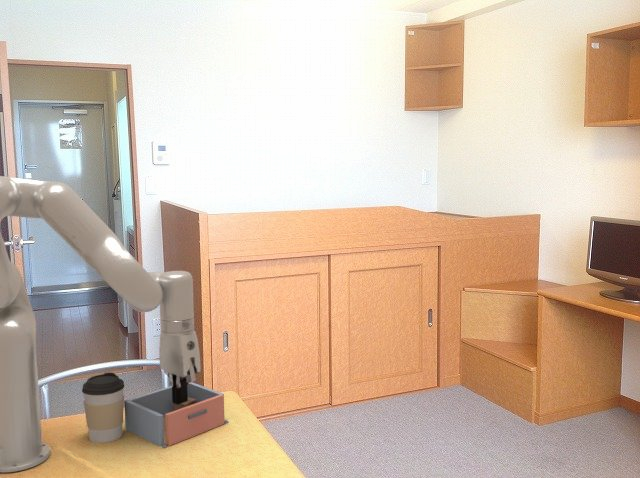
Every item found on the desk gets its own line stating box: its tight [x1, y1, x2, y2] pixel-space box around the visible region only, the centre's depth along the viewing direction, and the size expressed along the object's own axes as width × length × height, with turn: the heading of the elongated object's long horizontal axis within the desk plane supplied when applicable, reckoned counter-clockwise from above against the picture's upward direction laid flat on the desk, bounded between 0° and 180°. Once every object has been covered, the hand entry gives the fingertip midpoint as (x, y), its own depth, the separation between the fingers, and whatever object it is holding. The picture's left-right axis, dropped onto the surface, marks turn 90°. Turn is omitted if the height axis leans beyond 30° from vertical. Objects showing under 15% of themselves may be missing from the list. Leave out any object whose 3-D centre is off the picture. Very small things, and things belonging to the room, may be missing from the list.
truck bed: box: [124, 382, 229, 449], centre depth 149 cm, size 18×15×8 cm
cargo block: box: [173, 397, 197, 411], centre depth 156 cm, size 4×4×4 cm
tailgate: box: [164, 394, 225, 447], centre depth 144 cm, size 16×1×7 cm, turn 138°
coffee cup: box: [81, 371, 125, 444], centre depth 144 cm, size 9×9×15 cm
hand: (180, 402), depth 148 cm, fingers closed
